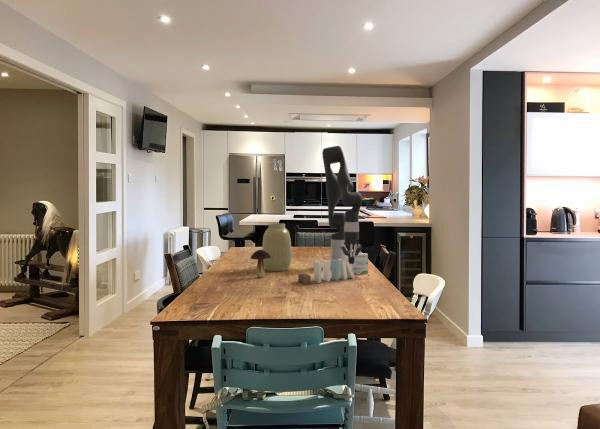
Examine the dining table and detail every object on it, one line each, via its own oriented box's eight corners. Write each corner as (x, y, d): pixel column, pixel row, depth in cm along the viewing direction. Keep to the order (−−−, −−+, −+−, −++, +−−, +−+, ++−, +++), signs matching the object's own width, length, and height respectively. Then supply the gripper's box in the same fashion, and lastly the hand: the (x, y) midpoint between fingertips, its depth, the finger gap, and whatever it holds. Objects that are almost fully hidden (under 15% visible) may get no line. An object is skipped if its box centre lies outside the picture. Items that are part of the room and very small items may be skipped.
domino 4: (339, 278, 232) (337, 259, 231) (342, 277, 233) (340, 258, 232) (344, 279, 228) (342, 260, 227) (347, 279, 228) (345, 260, 227)
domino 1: (314, 280, 226) (314, 261, 225) (316, 280, 227) (316, 260, 226) (318, 282, 221) (318, 262, 221) (321, 282, 222) (321, 262, 221)
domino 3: (331, 278, 230) (331, 259, 230) (334, 278, 231) (334, 259, 230) (336, 280, 226) (336, 261, 225) (338, 280, 226) (338, 260, 226)
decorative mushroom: (254, 280, 232) (254, 251, 231) (247, 276, 242) (247, 249, 241) (273, 278, 236) (273, 250, 235) (266, 274, 246) (266, 247, 245)
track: (293, 283, 224) (293, 273, 224) (353, 277, 239) (353, 268, 238) (302, 287, 215) (302, 277, 215) (363, 281, 230) (363, 271, 229)
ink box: (367, 273, 249) (367, 252, 249) (368, 275, 244) (368, 254, 244) (352, 273, 250) (352, 252, 250) (352, 275, 245) (352, 253, 245)
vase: (297, 268, 266) (297, 223, 264) (280, 273, 251) (280, 225, 250) (273, 266, 275) (273, 222, 273) (256, 270, 260) (256, 224, 259)
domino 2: (322, 279, 228) (322, 260, 227) (325, 279, 229) (325, 260, 228) (327, 281, 223) (327, 261, 223) (330, 281, 224) (330, 261, 224)
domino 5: (348, 277, 234) (340, 261, 232) (350, 275, 235) (343, 259, 232) (353, 279, 230) (345, 262, 227) (355, 277, 230) (347, 260, 228)
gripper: (344, 231, 224) (344, 265, 225) (366, 230, 230) (366, 264, 231) (336, 230, 231) (336, 263, 232) (358, 229, 237) (358, 261, 238)
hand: (351, 263), depth 232 cm, fingers closed
